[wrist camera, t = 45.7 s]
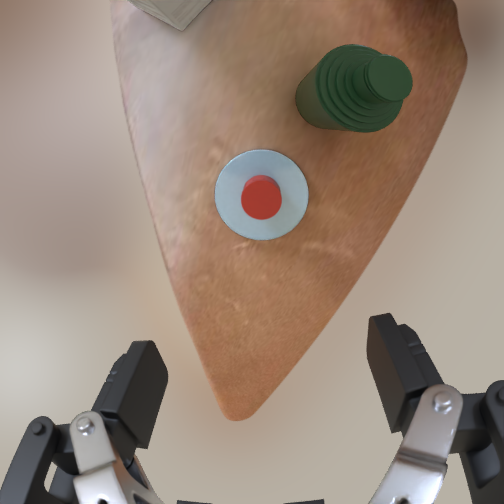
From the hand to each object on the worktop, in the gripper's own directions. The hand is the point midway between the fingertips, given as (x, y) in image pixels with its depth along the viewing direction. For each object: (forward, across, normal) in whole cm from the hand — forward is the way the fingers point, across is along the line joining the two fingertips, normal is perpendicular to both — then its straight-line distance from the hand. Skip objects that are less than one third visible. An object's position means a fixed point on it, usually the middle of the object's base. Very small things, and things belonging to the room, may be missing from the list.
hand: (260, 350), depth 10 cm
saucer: (+24, 0, 0) cm, 24 cm away
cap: (+23, 0, 0) cm, 23 cm away
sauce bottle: (+24, -8, -9) cm, 27 cm away
